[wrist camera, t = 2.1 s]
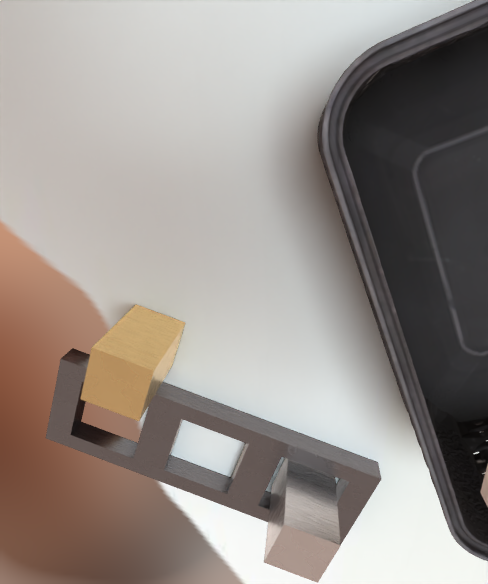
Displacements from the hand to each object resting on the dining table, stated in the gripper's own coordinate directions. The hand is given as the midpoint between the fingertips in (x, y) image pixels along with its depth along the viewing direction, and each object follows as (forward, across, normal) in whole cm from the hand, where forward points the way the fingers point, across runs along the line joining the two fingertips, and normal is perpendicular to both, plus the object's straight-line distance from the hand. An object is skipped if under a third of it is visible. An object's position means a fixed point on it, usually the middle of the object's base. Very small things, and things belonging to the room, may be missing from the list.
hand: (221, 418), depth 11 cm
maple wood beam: (+24, -11, -10) cm, 28 cm away
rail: (+24, -6, -21) cm, 32 cm away
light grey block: (+24, +3, -24) cm, 34 cm away
